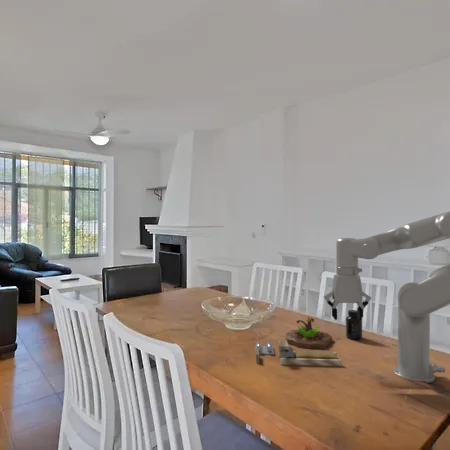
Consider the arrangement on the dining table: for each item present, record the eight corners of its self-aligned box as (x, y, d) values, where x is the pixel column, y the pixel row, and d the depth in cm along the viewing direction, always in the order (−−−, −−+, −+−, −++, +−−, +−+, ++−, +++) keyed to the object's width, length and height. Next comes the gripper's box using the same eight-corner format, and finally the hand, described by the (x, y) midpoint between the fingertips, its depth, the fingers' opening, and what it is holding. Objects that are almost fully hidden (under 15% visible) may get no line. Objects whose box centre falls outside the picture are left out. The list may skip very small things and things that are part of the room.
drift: (332, 360, 132) (332, 351, 132) (334, 364, 128) (334, 354, 128) (294, 359, 133) (294, 349, 133) (295, 363, 130) (295, 353, 130)
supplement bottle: (364, 337, 158) (364, 310, 158) (358, 341, 153) (358, 313, 153) (349, 334, 163) (349, 308, 163) (343, 337, 158) (343, 311, 158)
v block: (255, 347, 146) (255, 340, 146) (272, 347, 145) (272, 341, 145) (255, 354, 138) (255, 347, 138) (274, 354, 137) (274, 347, 137)
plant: (280, 346, 148) (280, 319, 148) (289, 332, 167) (289, 309, 166) (330, 352, 141) (330, 324, 141) (333, 337, 159) (333, 313, 159)
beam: (336, 357, 134) (336, 341, 134) (341, 366, 126) (341, 348, 126) (255, 355, 136) (255, 339, 136) (256, 363, 128) (256, 346, 128)
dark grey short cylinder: (280, 355, 134) (283, 344, 134) (291, 359, 134) (294, 348, 134) (281, 360, 129) (285, 349, 129) (292, 364, 129) (296, 353, 129)
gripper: (367, 270, 133) (368, 316, 133) (321, 270, 134) (321, 316, 134) (375, 273, 126) (375, 322, 126) (325, 272, 127) (325, 321, 127)
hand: (347, 318), depth 130 cm, fingers open, 8 cm apart
